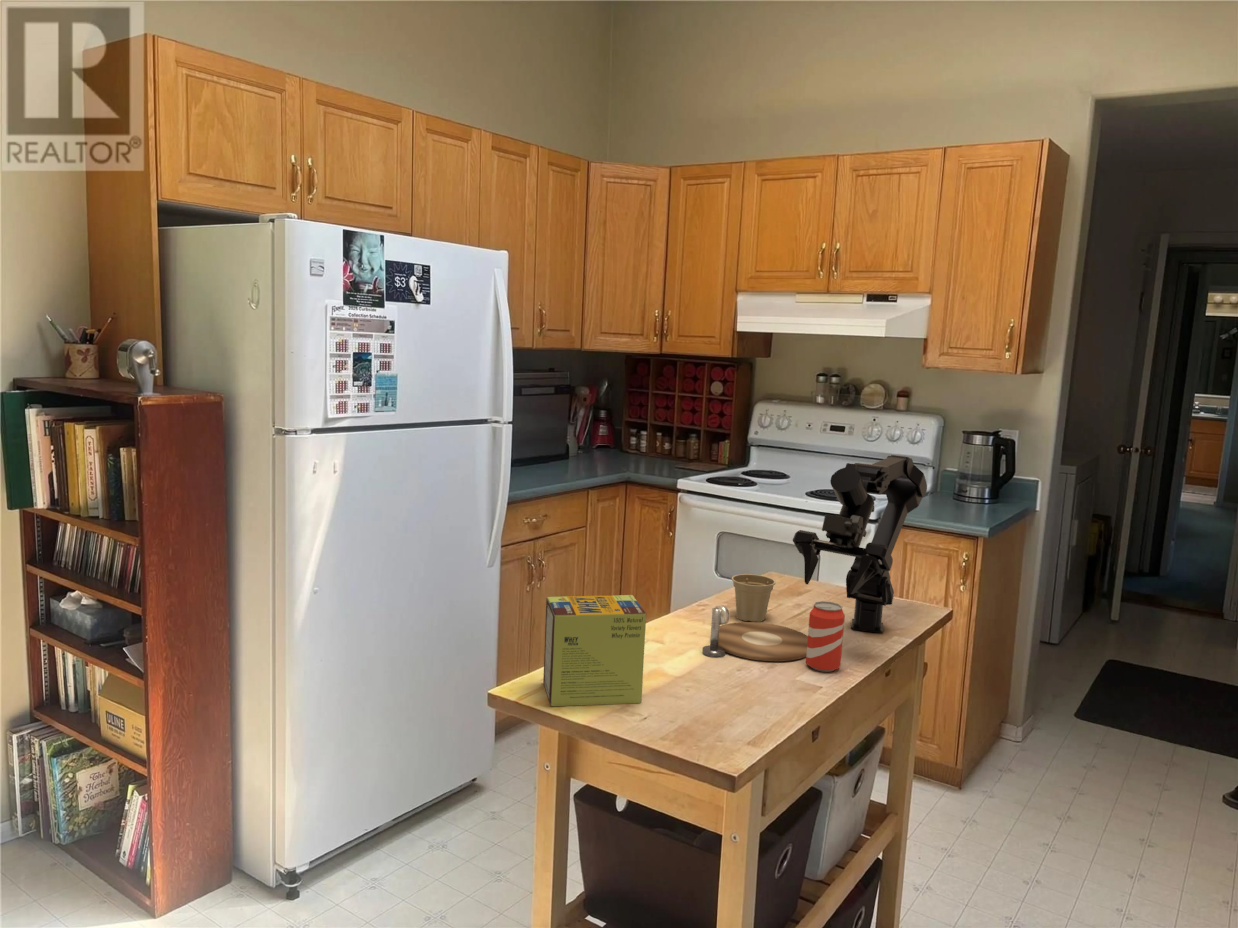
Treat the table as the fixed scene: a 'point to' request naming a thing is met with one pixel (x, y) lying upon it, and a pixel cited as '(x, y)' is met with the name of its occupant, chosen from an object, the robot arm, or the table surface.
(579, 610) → the protein box
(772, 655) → the lazy susan
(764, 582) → the flower pot
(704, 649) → the metal door stop
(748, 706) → the table surface
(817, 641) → the beverage can
